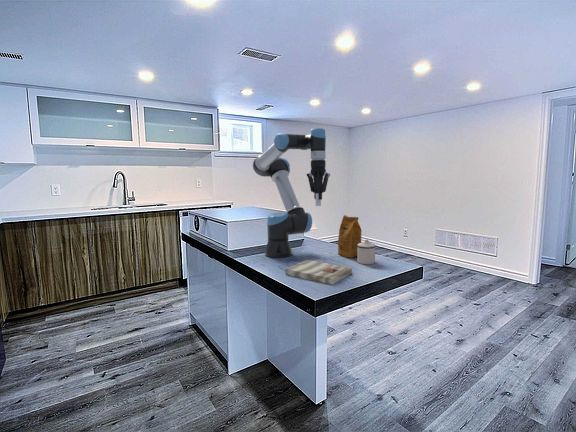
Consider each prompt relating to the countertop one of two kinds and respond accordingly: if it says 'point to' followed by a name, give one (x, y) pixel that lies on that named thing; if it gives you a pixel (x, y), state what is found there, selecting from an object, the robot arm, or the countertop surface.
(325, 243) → the countertop surface
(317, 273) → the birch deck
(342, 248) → the coffee package
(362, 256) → the teacup with lid
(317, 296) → the countertop surface
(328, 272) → the ball
